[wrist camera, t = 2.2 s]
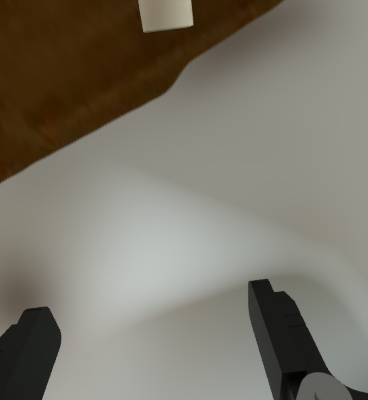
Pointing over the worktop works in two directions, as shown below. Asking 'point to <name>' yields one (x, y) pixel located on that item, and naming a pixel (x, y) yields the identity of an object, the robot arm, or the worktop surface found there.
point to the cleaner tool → (165, 14)
